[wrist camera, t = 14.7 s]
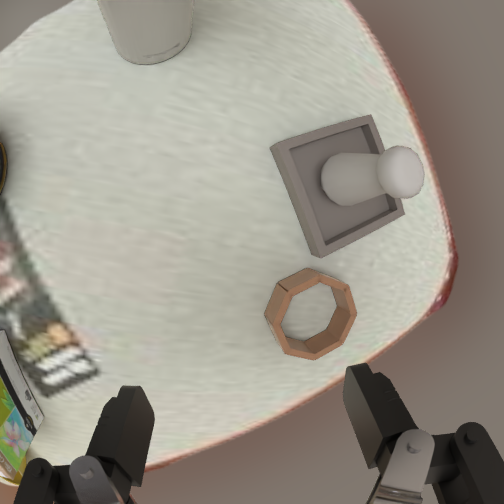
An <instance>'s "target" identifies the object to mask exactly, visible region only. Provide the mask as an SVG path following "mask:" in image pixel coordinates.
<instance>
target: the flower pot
mask: <svg viewBox="0 0 504 504" xmlns="http://www.w3.org/2000/svg"><path fill="white" fill-rule="evenodd" d="M25 468H26V456H24V458H23V460H22V462H21V464H20V467H19V469H18V471H17V473H16V475H15V477H14V480H12V479H9V478H6V477H2V476H0V477H2V478H3V479H5V480H6V481H8V482H10V483H13V484H15V485H20V482H21V479H22V476H23V473H24V471H25Z"/></svg>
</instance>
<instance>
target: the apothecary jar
mask: <svg viewBox="0 0 504 504" xmlns="http://www.w3.org/2000/svg"><path fill="white" fill-rule="evenodd" d="M6 172H7V158H6V152H5V149H4V147H3V145H2V143H1V142H0V194H1V191H2V189H3V186H4V182H5V178H6Z"/></svg>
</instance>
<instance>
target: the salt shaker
mask: <svg viewBox="0 0 504 504" xmlns="http://www.w3.org/2000/svg"><path fill="white" fill-rule="evenodd" d="M424 175H425V174H424V168H423V164H422V162H421V160H420V158H419V156H418V154H417V153H415V152H414V151H413V150H412V149H411V148H408V147H404V146H394V147H391V148H389V149H387V150H385V151H383V153H382V154H381V155H380V154H363V153H339V154H336V155H334V156H332V157H330V158H329V159H328V160H327V162H326V163H325V164H324V165H323V167H322V170H321V188H322V189H323V190H324V192H325V193H326V195H327V196H328V198H329V199H330V200H332V201H334V202H335V203H337V204H338V205H341V206H352V205H355V204H357V203H360V202H363V201H366V200H368V199H371V198H374V197H376V196H379V195H382V194H385V193H387V194H389V195H390V196H391V197H393V198H404V199H408V198H411V197H413V196H415V195H417V194H418V193H419V192H420V190H421V188H422V186H423V182H424Z"/></svg>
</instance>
